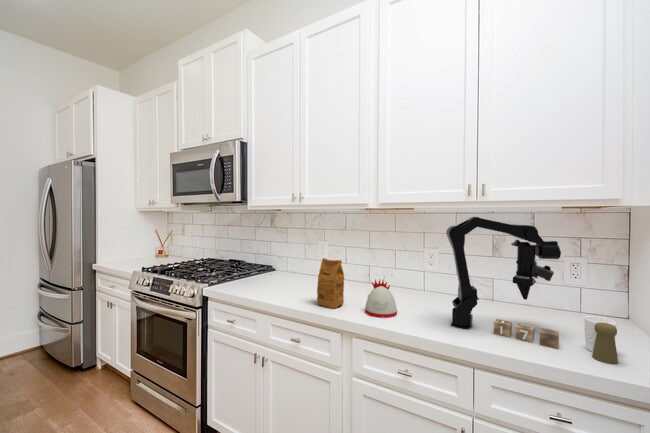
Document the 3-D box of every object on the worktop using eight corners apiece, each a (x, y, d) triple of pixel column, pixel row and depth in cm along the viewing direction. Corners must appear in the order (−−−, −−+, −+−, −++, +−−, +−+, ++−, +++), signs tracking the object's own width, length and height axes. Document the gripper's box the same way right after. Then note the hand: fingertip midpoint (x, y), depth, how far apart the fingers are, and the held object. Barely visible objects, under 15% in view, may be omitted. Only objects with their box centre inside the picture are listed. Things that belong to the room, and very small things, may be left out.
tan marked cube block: (515, 339, 109) (515, 326, 109) (517, 335, 113) (517, 322, 113) (532, 343, 106) (532, 330, 106) (534, 338, 110) (534, 325, 110)
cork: (605, 354, 98) (605, 320, 98) (624, 364, 92) (625, 327, 91) (586, 354, 97) (587, 320, 97) (604, 364, 91) (605, 327, 91)
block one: (493, 334, 113) (493, 322, 113) (496, 330, 117) (496, 318, 117) (509, 338, 110) (509, 325, 110) (511, 333, 114) (511, 321, 114)
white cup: (620, 358, 96) (621, 326, 95) (589, 353, 98) (590, 322, 98) (608, 347, 103) (609, 318, 103) (579, 343, 106) (580, 314, 106)
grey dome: (365, 306, 145) (366, 275, 144) (395, 308, 142) (396, 276, 142) (364, 316, 131) (364, 281, 131) (397, 319, 129) (398, 283, 128)
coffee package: (326, 300, 155) (327, 256, 155) (346, 305, 147) (347, 259, 147) (313, 304, 147) (313, 258, 147) (333, 310, 139) (334, 261, 139)
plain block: (539, 345, 104) (539, 332, 104) (540, 340, 108) (541, 327, 108) (558, 349, 101) (558, 336, 101) (558, 344, 105) (558, 331, 105)
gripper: (550, 263, 104) (550, 309, 104) (553, 257, 119) (553, 298, 119) (512, 260, 111) (511, 303, 111) (519, 254, 126) (519, 293, 126)
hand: (525, 299), depth 117 cm, fingers closed
